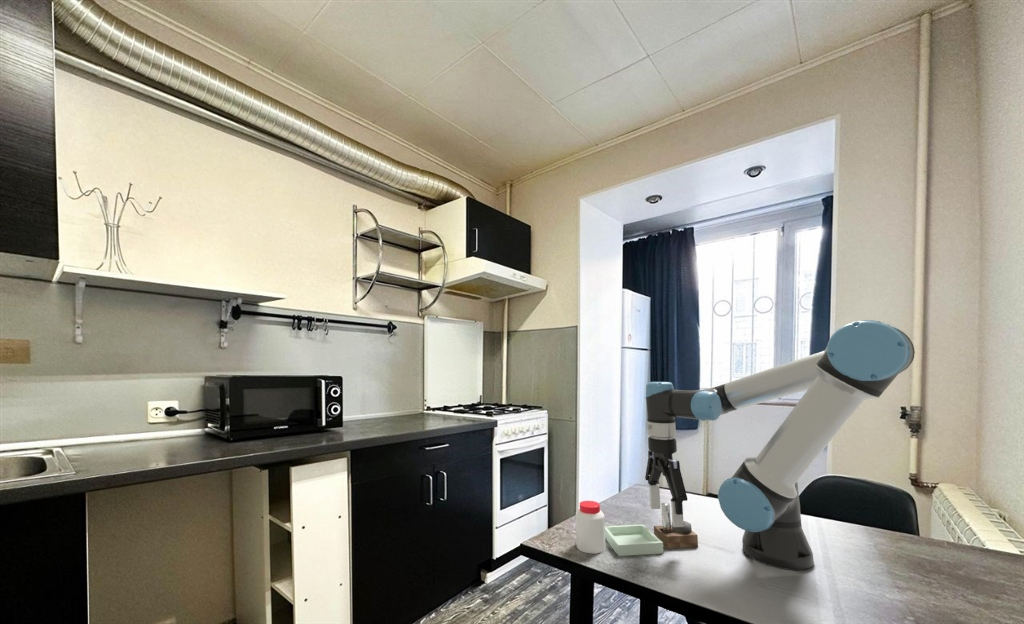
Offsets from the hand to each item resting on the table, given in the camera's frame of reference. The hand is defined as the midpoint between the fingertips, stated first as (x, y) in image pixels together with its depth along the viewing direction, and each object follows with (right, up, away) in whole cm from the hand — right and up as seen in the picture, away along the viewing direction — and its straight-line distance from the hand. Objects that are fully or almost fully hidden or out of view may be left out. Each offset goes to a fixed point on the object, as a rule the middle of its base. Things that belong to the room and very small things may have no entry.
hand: (666, 517), depth 111 cm
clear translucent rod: (0, -6, -1) cm, 7 cm away
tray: (-10, -6, -2) cm, 12 cm away
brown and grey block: (+2, -6, -1) cm, 7 cm away
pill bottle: (-21, -7, -3) cm, 23 cm away
